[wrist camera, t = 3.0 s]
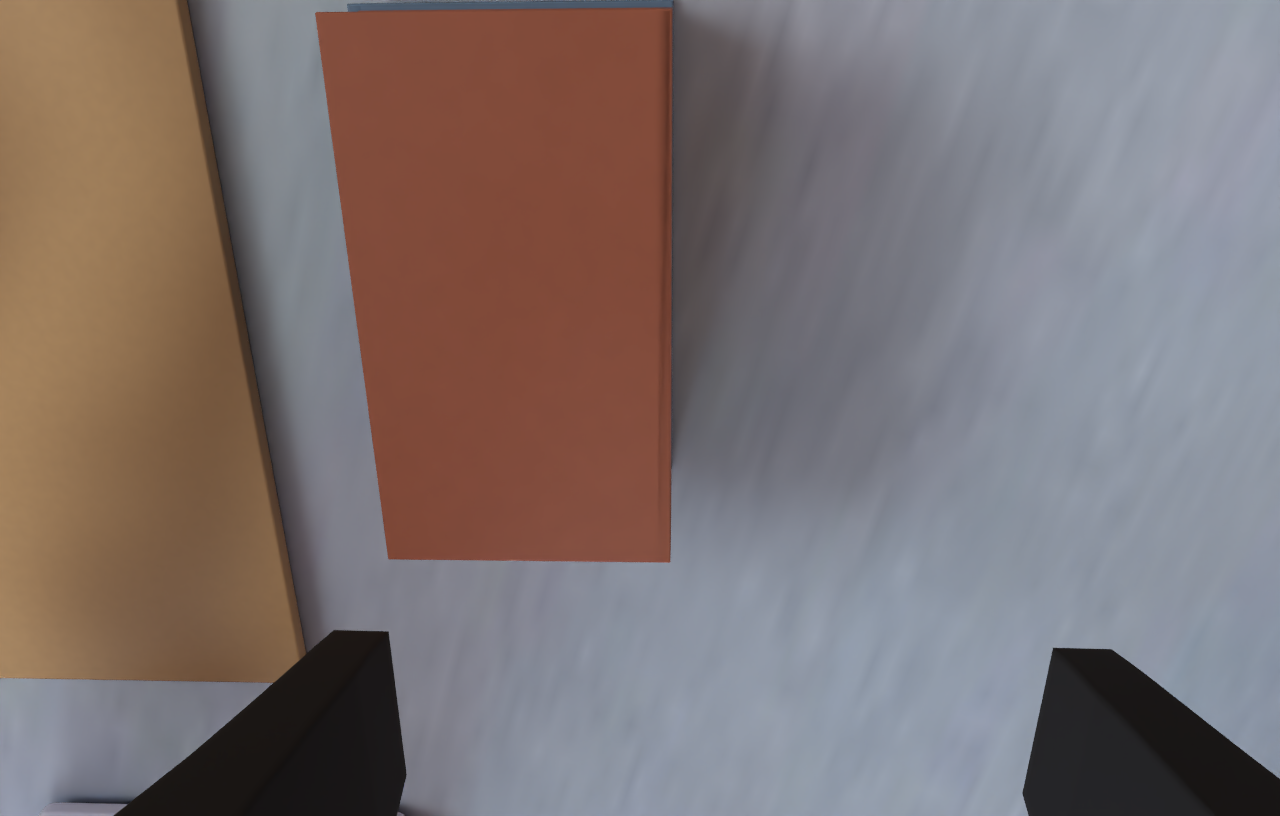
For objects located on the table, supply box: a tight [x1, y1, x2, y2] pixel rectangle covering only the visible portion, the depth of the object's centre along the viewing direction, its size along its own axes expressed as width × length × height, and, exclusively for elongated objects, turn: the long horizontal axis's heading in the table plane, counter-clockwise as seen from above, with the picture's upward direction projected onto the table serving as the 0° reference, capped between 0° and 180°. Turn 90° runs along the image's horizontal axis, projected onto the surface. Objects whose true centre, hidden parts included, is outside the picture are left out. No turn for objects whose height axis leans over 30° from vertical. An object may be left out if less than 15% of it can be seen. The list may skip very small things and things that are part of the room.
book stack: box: [315, 0, 673, 563], centre depth 16 cm, size 5×9×4 cm, turn 0°
